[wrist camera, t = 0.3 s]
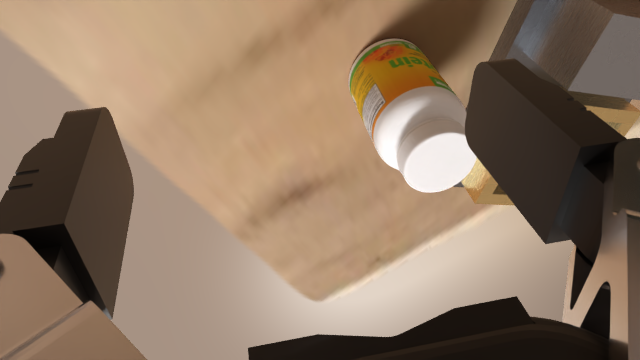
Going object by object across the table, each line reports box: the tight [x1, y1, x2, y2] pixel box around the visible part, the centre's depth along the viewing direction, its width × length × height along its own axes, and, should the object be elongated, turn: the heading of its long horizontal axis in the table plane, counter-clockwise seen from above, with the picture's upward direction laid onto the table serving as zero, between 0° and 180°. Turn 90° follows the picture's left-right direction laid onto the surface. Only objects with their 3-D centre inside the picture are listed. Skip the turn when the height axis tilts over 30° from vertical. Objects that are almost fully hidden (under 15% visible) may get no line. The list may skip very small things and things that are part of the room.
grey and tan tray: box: [452, 0, 640, 205], centre depth 33 cm, size 16×12×6 cm
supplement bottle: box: [349, 39, 477, 193], centre depth 28 cm, size 5×5×10 cm
